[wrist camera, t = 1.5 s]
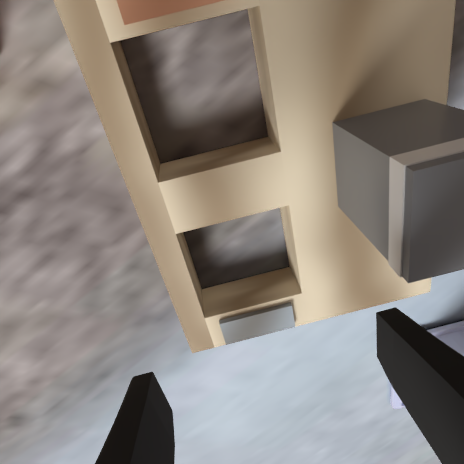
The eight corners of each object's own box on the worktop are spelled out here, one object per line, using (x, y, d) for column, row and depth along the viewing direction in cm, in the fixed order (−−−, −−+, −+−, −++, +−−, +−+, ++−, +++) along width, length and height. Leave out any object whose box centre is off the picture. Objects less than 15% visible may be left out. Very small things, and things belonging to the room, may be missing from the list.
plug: (425, 97, 15) (556, 133, 10) (420, 186, 17) (526, 254, 12) (330, 121, 15) (411, 170, 10) (336, 207, 17) (406, 285, 12)
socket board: (421, -107, 14) (474, -136, 11) (406, 267, 23) (433, 295, 20) (64, -19, 14) (39, -29, 11) (190, 322, 23) (192, 357, 20)
